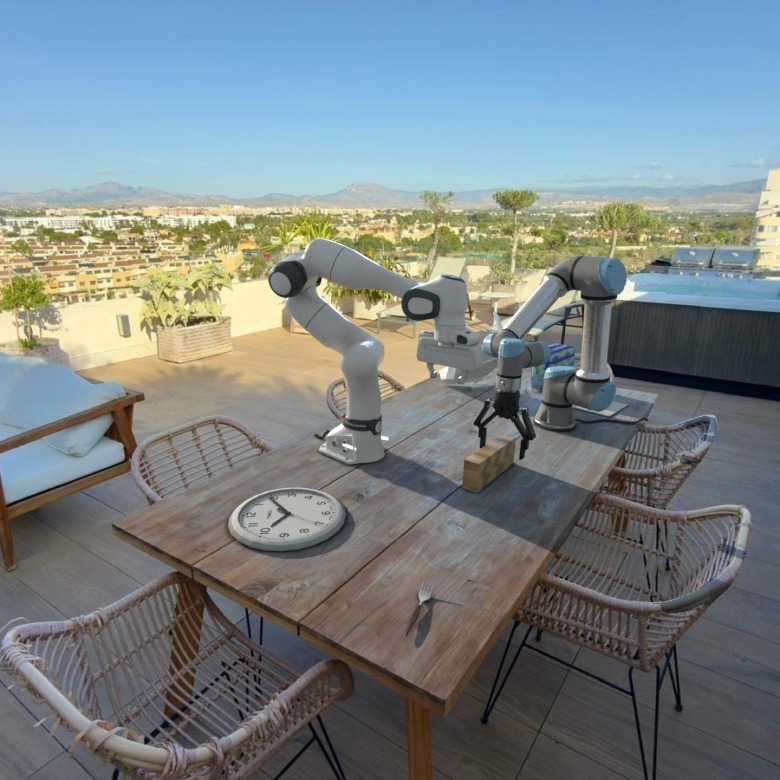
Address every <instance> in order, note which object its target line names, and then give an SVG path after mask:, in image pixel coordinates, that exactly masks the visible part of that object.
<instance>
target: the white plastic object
mask: <svg viewBox="0 0 780 780" xmlns="http://www.w3.org/2000/svg"><path fill="white" fill-rule="evenodd" d="M492 315H493V319H494V321H495V324H496V325H495V326H496V328H497V332H498V333H499V332H500V331H501V330H502V329H503V328H504V326H503V325H502V321H501V318H500V315H499V314H498V312H497V311H496V310H495V311H492ZM480 345H481V347H482V367H481V368H480V369H479V370H477V371H469V373H468V375H467V376H466V378H465V383H464V384H467V383H468V384H469V383H473V384H477V383H480V382H482V381H484V378H485V377H486V376H487V375H489V374H490V373H492V372H494V371H495V370H496V369H497V368H498V358H494V357H492V356H489V355H487V354H486V353H485V352H484V350H483V344H480ZM438 372H439V376H440V381H442V383H443V384H444V385H445V386H449V385H458V378H459V377H461V376H462V375H463V373H462V369H458V368H453V367H448V366H445V367H444V368H442V369H440V370H439V371H438ZM528 387H529V386H528V384H527V381H526V378H525V375H524V371H523V370H522V379H521V389H522V391H523V393H524V395H525V396H526V397H528V396H531V395H530V390H529V388H528Z"/></svg>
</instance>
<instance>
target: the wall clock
mask: <svg viewBox="0 0 780 780" xmlns="http://www.w3.org/2000/svg"><path fill="white" fill-rule="evenodd" d="M346 518H347V513H346V509H345V506H344V505H343V503H341V501H340V500H339V499H338V498H336V497H334V496H332V495H331V494H330V493H327V492H324V491H321V490H318V489H313V488H308V487H283V488H277V489H272V490H267V491H264V492H261V493H258V494H255V495H253V496H252V497H250V498H248V499H246V500H244V501H243V502H242V503H240V504H239V505H238V506H237V507H236V508H234V510H233V511H232V513H231V514H230V516H229V518H228V524H227V528H228V530H229V532H230V535H231V536H232V538H234V539H235V540H236V541H237V542H238V543H239V544H242V545H244V546H246V547H249V548H251V549H256V550H261V551H266V552H287V551H288V552H289V551H299V550H302V549H306V548H310V547H313V546H316V545H318V544H320V543H323V542H325V541H328V540H329V539H330V538H332V537H333V536H334V535H336V534H337V533H339V531H340V530H341V528H342V527H343V526H344V524H345V521H346Z"/></svg>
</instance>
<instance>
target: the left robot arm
mask: <svg viewBox="0 0 780 780" xmlns="http://www.w3.org/2000/svg"><path fill="white" fill-rule="evenodd" d="M323 279H325V280H326V281H328V282H330V283H333V284H334V285H337V286H339V287H341V288H345V289H348V290H353V291H358V290H359V291H360V290H378V291H382V292H385V293H388V294H390V295H392V296H394V297H397V298H399V299H401V301H400V307H401V311H402V313H403V314H404V316H405V317H407V319H409V320H412V321H415V322H422V321H429V320H433V322H434V324H433V330H428V329H423V330H421V331H420V332H419V333H418V336H417V340H418V342H417V346H416V352H415V354H416V355H415V357H416V360H417V361H418V362H424V363H426V367H427V370H428V372H429V378H430V379H436V378H437V377H438V371H436V370H435V368H434V366H435V365H438V366H442V367H453V368H458V369H462V373H463V375H462V376H461V377H459V378H458V384H459V385H464V384H466V383H465V378H466V376H467V375H468V373H469V371H477V370H479V369H480V368H481V367H482V347H481V345H482V344H481V343H480V342H481V341H482V335H481V334H480V333H477V332H476V331H474V330H472V329H470V328H468V327H467V322H466V312H467V309H468V287H467V283H466V281H465V279H463V278H462V277H460V276H456V275H454V274H447V273H444V274H443V273H441V274H440V275H439V276H437V277H436V278H434V279H432V280H430V281H417V280H414V279H411V278H408V277H406V276H404V275H401V274H399V273H397V272H394V271H392V270H390V269H387V268H386V267H384V266H382V265H380V264H378V263H377V262H375V261H374V260H372V259H370V258H368V257H367V256H365V255H363V254H362V253H360V252H358V251H357V250H354V249H352V248H351V247H348V246H346V245H344V244H341V243H339V242H337V241H333V240H330V239H327V238H323V237H315V238H313V239H312V240H310V241H309V242H308V243H307V245H306V246H305V247H302V248H300V249H298V250H297V251H293V252H291V253H290V254H288V255H286V256H285V257H284V258H283V259H281V260H280V261H279V262H276V263H275V264H274V265H273V266H272V268H271V269H270V270H269V273H268V275H267V281H268V285H269V288H270V290H271V291H272V292H273V293H274V294H275V295H276V296H278V297H280V298H283V299H285V300H284V306H285V310H286V311H287V312H288V313H289V315H290V316H291V317H292V318H293V319H294V321H295V322H296V323H297V324H299V325H300V326H301V327H302V328H303V330H305V331H306V332H307V333H309V334H310V335H311V336H312V337H313V338H314V339H315V340H316V341H318V342H319V343H320V344H321V345H322V346H323V347H326V348H328V349H331V350H333V351H335V352H337V353H339V354H340V355H342V356H341V359H340V370H341V372H342V375H343V380H344V381H343V382H344V385H345V392H346V393H345V394H346V412H345V413H343V414H342V415H340V416H339V420H340V421H341V420H342V423H340V424H339V425H335V426H333V427H331V428H328V429H326V431H324V433H323V434H322V435H319V434H317V433H315V434H314V436H315V437H316V438H318V439H320V440H321V439H325V438H326V439H325V442H324V443H322V445H320V447H319V449H318V452H319V453H320V454H322V455H325V456H327V457H329V458H332V459H334V460H336V461H338V462H341V463H343V464H346V465H356V464H370V463H375V462H378V461H380V460H382V459H383V458H384V457H385V456H386V451H385V449H384V444H383V440H385V441H389V437H388V436H383V435H382V428H383V415H382V413H381V410H382V408H381V407H382V406H381V405H382V391H381V389H380V383H379V368H380V366H381V364H382V363H383V361H384V359H385V351H386V350H385V345H384V343H383V342H382V340H381V339H380V338H378V337H377V336H375V335H372V334H370V333H369V332H368V331H365V329H364V328H362V327H360V326H358V325H356V324H355V323H353V322H352V321H351V320H349V319H348V318H346V317H345V316H344V315H343V314H342V313H340V311H338V310H337V309H336V308H334V307H333V306H332V304H330V303H329V302H328V301H327V300H325V299H324V298H323V297H321V295H320V294H319V293H318V291H317V287H319V286H321V284H322V280H323ZM458 384H457V385H458ZM326 435H327V436H326Z"/></svg>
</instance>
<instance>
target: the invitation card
mask: <svg viewBox="0 0 780 780" xmlns="http://www.w3.org/2000/svg"><path fill="white" fill-rule="evenodd" d="M628 406H629V404H627V403H623V402H618V401H614V400H613V401H612V403H611V404H610V405H609V407H608V408H607V409H605V410H604V411H601V412H597V411H593V410H588V409H586V408H582V407H579V406H576V405H575V406H574V407H573V409H575V410H581V411H584V412H587V413H593V414H596V415H600V416H604V417H608V418H609V417H611V416H613V415H614V414H616V413H617V412H619V411H621V410H623V409H624V408H626V407H628Z"/></svg>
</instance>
